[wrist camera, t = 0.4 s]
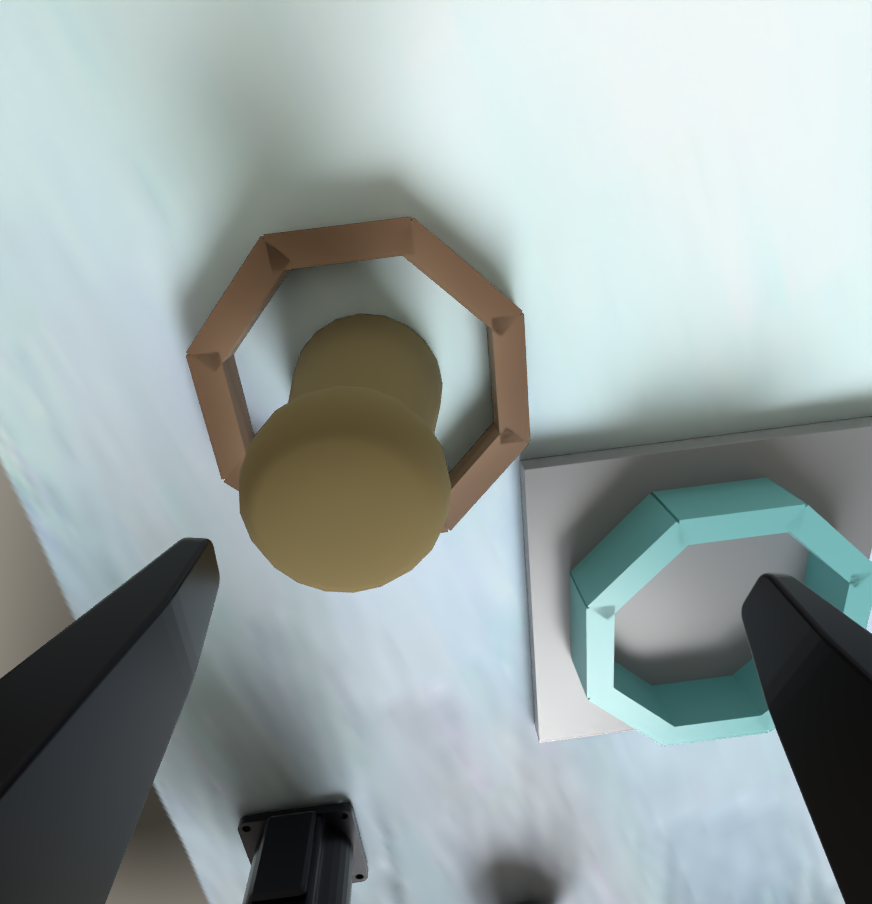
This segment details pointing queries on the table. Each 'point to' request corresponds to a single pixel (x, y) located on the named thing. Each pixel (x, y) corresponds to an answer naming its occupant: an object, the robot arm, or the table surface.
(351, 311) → the table surface
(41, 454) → the table surface
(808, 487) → the teal ring holder base
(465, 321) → the table surface
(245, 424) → the walnut ring
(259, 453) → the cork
